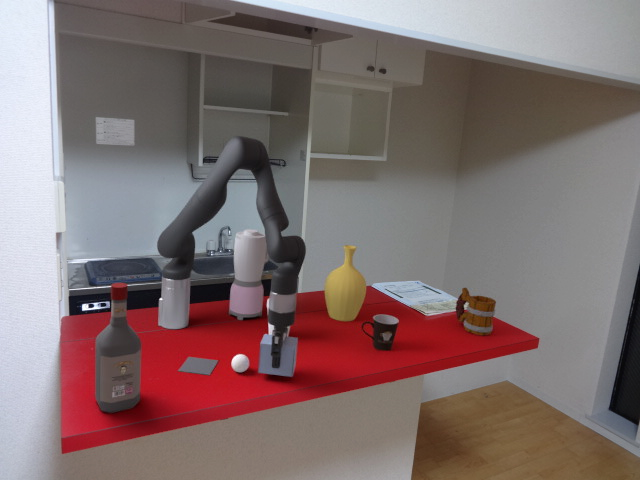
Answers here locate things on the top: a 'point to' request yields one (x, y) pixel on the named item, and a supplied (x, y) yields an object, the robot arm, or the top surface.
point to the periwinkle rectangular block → (286, 358)
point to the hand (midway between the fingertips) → (277, 361)
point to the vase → (345, 289)
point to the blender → (248, 274)
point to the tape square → (198, 366)
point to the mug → (476, 313)
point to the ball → (240, 363)
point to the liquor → (117, 358)
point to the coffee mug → (383, 331)
